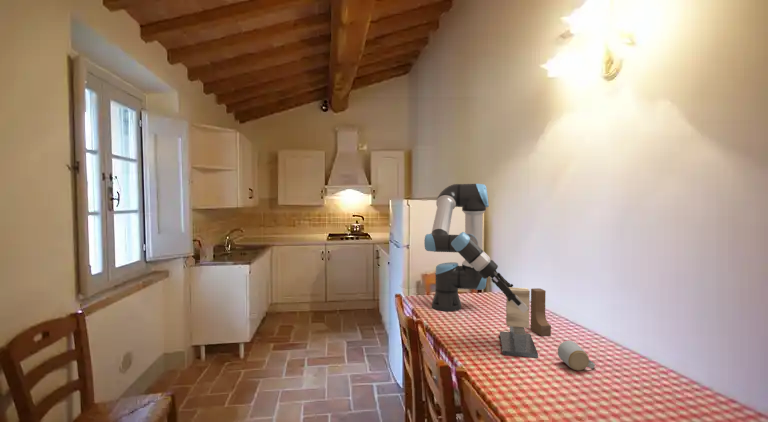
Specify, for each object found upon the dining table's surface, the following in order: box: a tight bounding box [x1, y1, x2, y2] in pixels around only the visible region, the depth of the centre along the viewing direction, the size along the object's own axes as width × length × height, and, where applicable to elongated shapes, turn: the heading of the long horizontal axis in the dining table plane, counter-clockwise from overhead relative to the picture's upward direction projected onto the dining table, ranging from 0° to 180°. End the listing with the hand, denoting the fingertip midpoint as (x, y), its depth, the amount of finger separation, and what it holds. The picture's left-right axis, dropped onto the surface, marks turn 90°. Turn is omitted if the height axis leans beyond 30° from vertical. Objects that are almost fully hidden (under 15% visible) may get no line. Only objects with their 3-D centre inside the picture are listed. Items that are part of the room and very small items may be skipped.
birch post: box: [505, 286, 531, 329], centre depth 152 cm, size 5×8×14 cm, turn 76°
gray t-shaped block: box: [499, 326, 539, 359], centre depth 152 cm, size 22×12×8 cm, turn 166°
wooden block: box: [530, 287, 552, 337], centre depth 167 cm, size 9×4×18 cm, turn 7°
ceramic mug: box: [557, 340, 596, 372], centre depth 133 cm, size 11×8×8 cm
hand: (524, 305), depth 151 cm, fingers open, 13 cm apart
